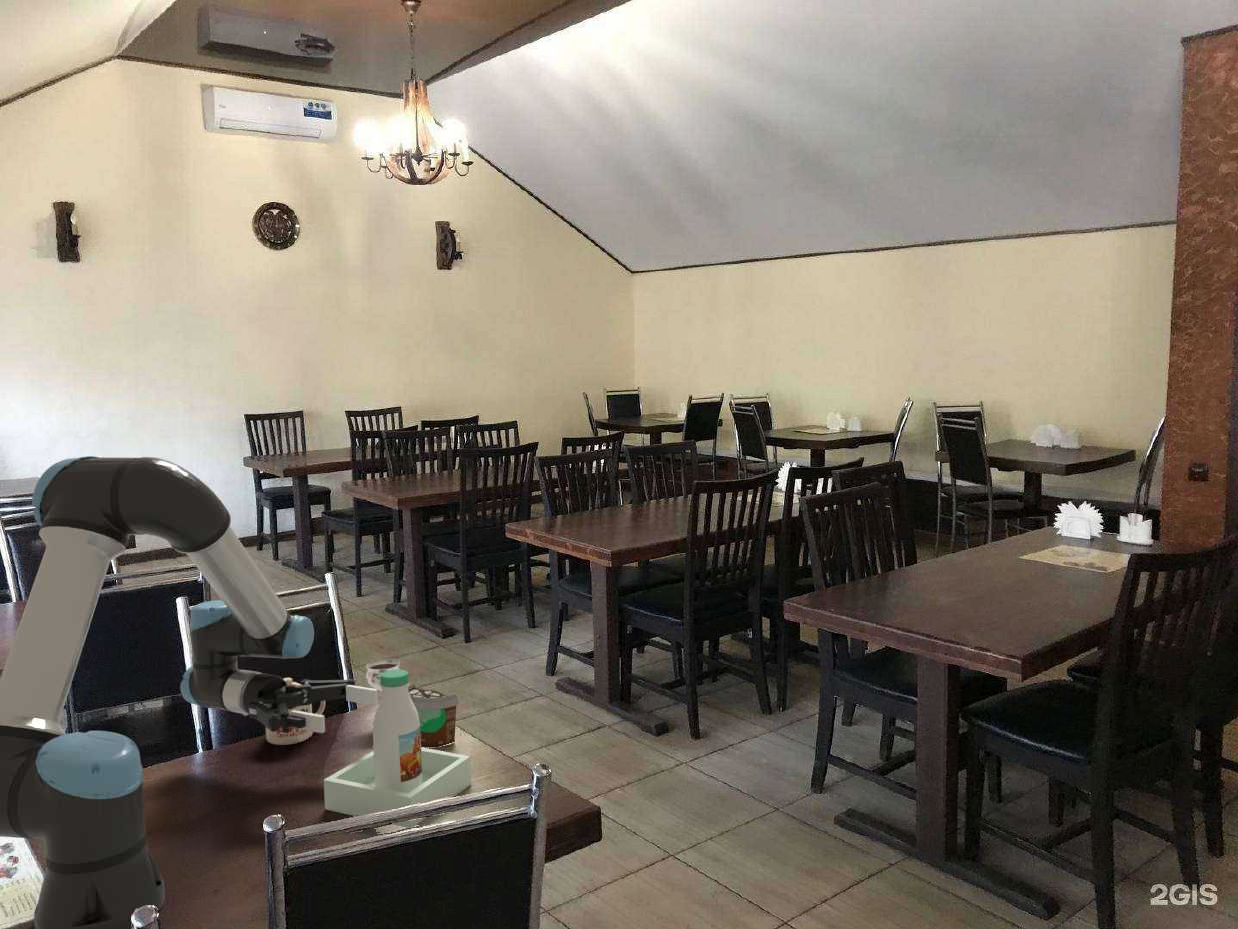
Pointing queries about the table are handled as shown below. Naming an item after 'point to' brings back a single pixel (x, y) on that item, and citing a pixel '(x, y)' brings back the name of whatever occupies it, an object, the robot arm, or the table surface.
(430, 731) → the food container
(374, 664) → the wineglass
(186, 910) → the table surface
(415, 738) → the milk bottle
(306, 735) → the teacup with lid
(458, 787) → the pale green tray
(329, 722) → the table surface
